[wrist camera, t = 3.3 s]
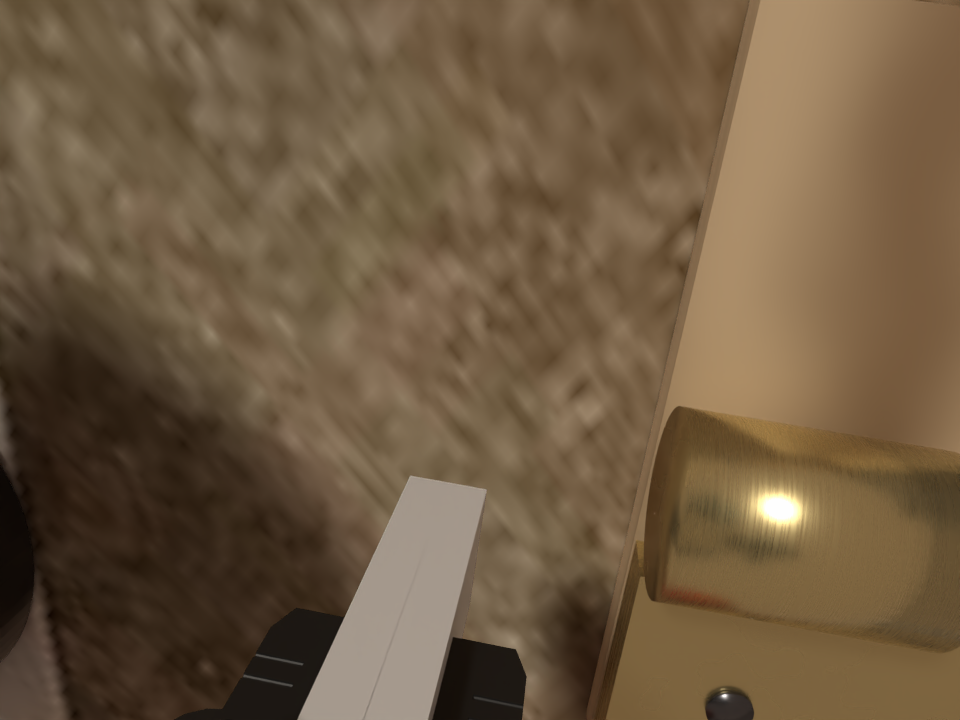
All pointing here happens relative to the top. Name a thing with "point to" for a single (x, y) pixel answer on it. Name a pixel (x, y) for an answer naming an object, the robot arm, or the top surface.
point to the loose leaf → (790, 579)
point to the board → (825, 237)
